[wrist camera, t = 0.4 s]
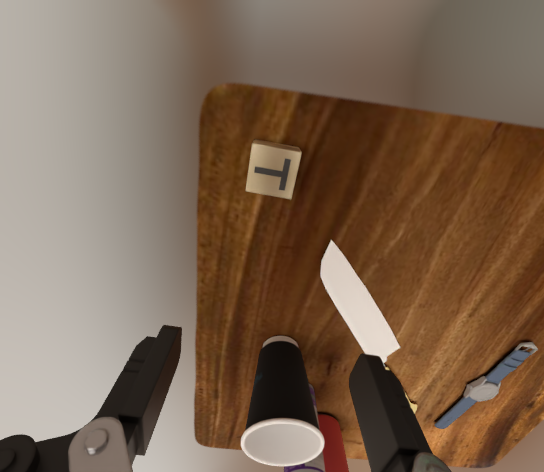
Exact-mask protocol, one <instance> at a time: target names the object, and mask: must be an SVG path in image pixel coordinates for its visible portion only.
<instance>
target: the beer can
mask: <svg viewBox="0 0 544 472" xmlns="http://www.w3.org/2000/svg"><path fill="white" fill-rule="evenodd" d="M317 415H318V422H319V429H320V432H321V433H322V435H323V437H324V441H325V444H324V448H323V450H322V451H323V458H324V465H325V472H349V470H348V465H347V460H346V455H345V450H344V445H343V440H342V435H341V430H340V425H339V423H338V421H337V420H336V419H334V418H333V417H332V416H329V415H326V414H317Z"/></svg>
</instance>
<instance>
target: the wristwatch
mask: <svg viewBox="0 0 544 472" xmlns="http://www.w3.org/2000/svg"><path fill="white" fill-rule="evenodd" d="M522 346H525V347H529V348H532V349H533V350H532V351H530V352H526V351H524V350H523V351H522V350H519V349H520V348H521V347H522ZM529 348H528V349H529ZM528 349H526V350H528ZM536 350H538V349H537V347H536V346H535V345H534V344H533V342H527V343H520V344H519V345H518V346H517V347H516V348H515V350H514V351H513V352H512V353H511V354H510V355H508V356H507V357H506V358H505V359H504V360H503V361H501V362H500V363H499V364H498V365H497V367H496V368H494V369H493V370H492V371H491V372H490V373H489V374H488V375H487V376H486V377H485V376H482V377H481V378H479V379H478V380H476V381H474V382H471V383H470V384H467V388H466V390H465V392H464V394H463V395H464V397H463V398H462V399H461V400H460V401H459V402H458V403H457V404H455V405H454V406H453V407H452V408H451V409H450V410H449V411H448V412H447V413H446V414H445V415H444V416H443V417H442V418H441V419H440V420H438V421H437V422H436V423H435V427H437V428H440V429H445V428H447V427H448V426H449V425H450V424H451V423H452V422H454V421H455V420H456V419H457V418H458V417H459V416H461V415H462V414H463V413H464V412H465V411H466V410H468V409H469V408H470V407H471V406H472V405H473V404H475V403H476V402H477V401H479V402H480V401H486V400H489V399H492V398H494V397H495V396H496V395H497V394H498V392H499V387H500V384H501V382H500V381H501V380H502V379H503V378H504V377H505V376H507V375H508V374H509V373H510V372H511V371H514V370H515V369H516V368H517V366H518V365H520V364H521V363H522V362H524V360H525V359H526V358H527V357H528V356H529V355H532V354H533V353H534V352H535V351H536Z"/></svg>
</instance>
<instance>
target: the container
mask: <svg viewBox="0 0 544 472" xmlns="http://www.w3.org/2000/svg"><path fill="white" fill-rule="evenodd" d="M309 387H310V392H311V396H312V400H313V405H314V409H315V413H316V417H317V422H318V415H317V408H316V400H315V393H314V388H313V386H312V385H311V384H309ZM318 426H319V422H318ZM319 430H320V429H319ZM284 472H325V465H324V458H323V451H322V452H321V453H320V454H319V455H318V456H317V457H316V458H314V459H312V460H310V461H308V462H306V463H303V464H299V465H293V466H284Z"/></svg>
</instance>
